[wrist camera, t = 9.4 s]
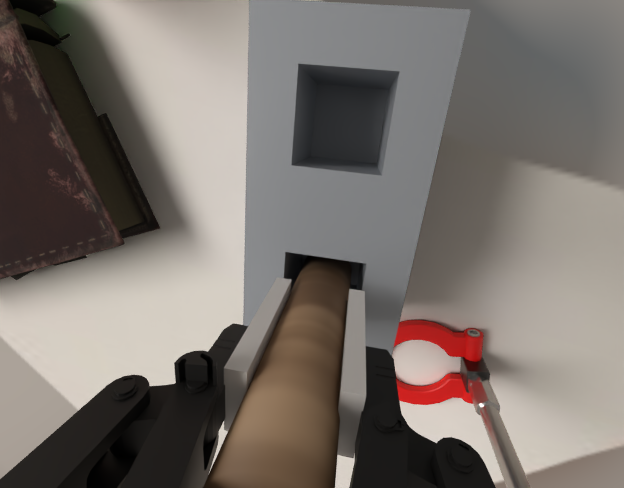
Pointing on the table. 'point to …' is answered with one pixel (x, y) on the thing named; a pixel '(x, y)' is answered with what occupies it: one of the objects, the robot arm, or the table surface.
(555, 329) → the table surface
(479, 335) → the tow hook
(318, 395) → the walnut pin
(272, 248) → the socket block
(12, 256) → the diary
